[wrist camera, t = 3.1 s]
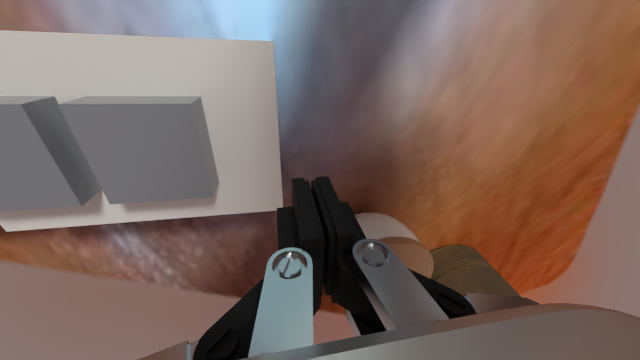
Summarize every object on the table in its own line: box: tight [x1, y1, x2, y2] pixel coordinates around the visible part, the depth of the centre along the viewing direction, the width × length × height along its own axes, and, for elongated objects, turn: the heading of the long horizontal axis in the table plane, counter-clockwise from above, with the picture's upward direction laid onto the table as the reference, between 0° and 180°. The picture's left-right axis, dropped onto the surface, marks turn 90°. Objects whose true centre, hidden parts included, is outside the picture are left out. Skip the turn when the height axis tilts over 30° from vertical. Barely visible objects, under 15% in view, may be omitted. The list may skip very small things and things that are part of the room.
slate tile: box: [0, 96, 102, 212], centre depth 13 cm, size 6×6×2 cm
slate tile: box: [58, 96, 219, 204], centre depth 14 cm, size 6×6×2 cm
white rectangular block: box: [0, 30, 283, 232], centre depth 17 cm, size 19×12×6 cm, turn 88°
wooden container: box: [430, 245, 521, 297], centre depth 30 cm, size 15×15×22 cm
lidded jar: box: [355, 212, 434, 278], centre depth 26 cm, size 11×11×9 cm
